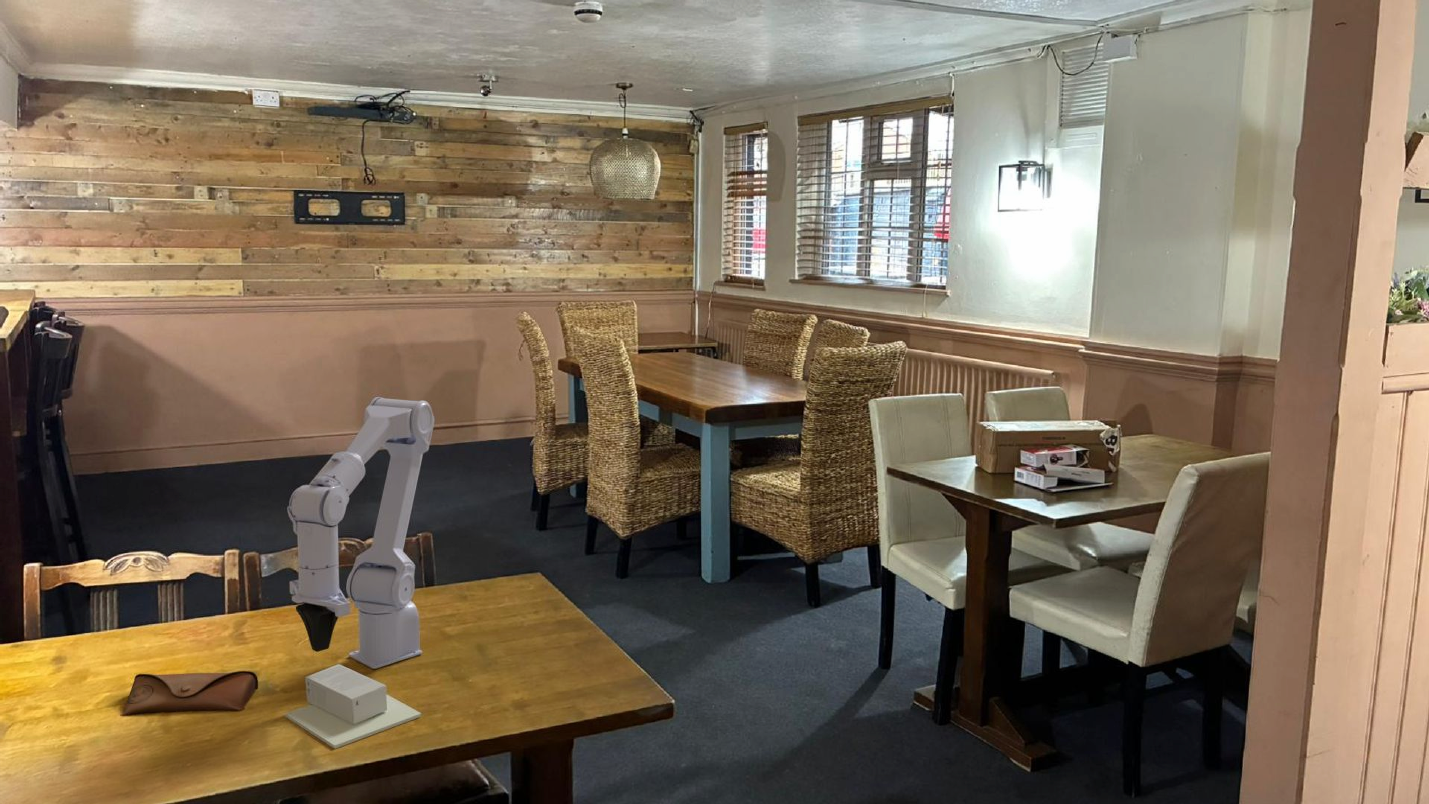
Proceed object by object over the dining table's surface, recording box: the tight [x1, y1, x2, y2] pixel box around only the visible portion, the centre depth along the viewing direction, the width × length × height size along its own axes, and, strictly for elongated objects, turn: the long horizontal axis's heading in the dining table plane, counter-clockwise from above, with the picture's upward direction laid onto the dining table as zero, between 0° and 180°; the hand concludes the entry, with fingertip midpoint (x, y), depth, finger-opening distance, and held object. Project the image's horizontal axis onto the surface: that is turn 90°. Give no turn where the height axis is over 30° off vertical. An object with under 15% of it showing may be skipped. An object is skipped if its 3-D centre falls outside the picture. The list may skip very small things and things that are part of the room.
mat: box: [284, 693, 422, 750], centre depth 156 cm, size 14×14×1 cm
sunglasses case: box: [119, 670, 259, 717], centre depth 159 cm, size 18×7×7 cm, turn 101°
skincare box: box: [305, 663, 387, 725], centre depth 157 cm, size 6×4×12 cm
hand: (320, 649), depth 161 cm, fingers closed
